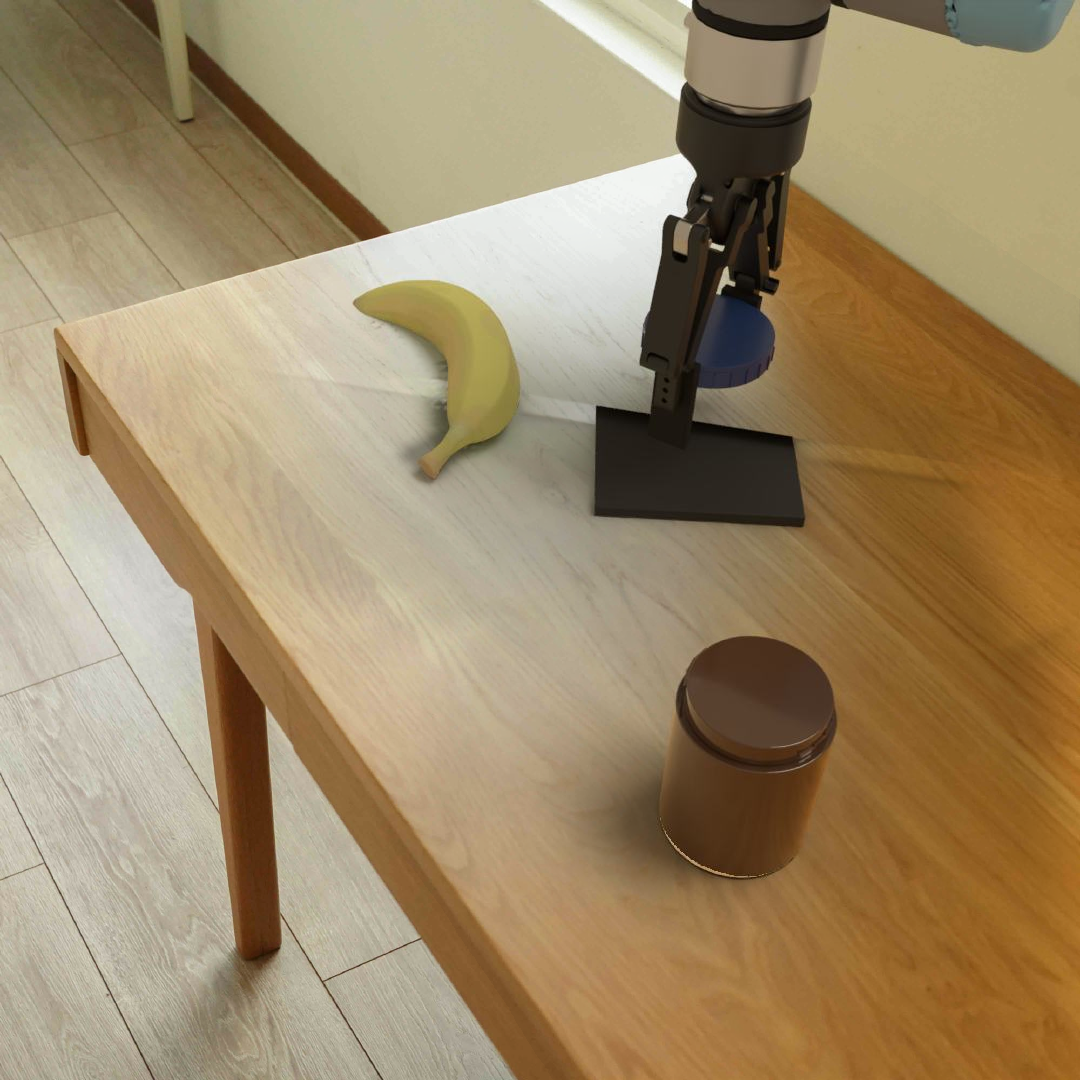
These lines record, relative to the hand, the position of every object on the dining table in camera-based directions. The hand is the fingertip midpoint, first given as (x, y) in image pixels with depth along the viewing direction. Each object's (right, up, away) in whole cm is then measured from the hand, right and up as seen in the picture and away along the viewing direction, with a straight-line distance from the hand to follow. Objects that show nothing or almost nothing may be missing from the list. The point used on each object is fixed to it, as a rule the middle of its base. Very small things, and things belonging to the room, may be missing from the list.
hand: (699, 404), depth 92 cm
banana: (-19, +1, +7) cm, 20 cm away
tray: (0, -3, +3) cm, 4 cm away
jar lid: (0, +4, -4) cm, 6 cm away
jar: (-1, -24, -19) cm, 31 cm away
